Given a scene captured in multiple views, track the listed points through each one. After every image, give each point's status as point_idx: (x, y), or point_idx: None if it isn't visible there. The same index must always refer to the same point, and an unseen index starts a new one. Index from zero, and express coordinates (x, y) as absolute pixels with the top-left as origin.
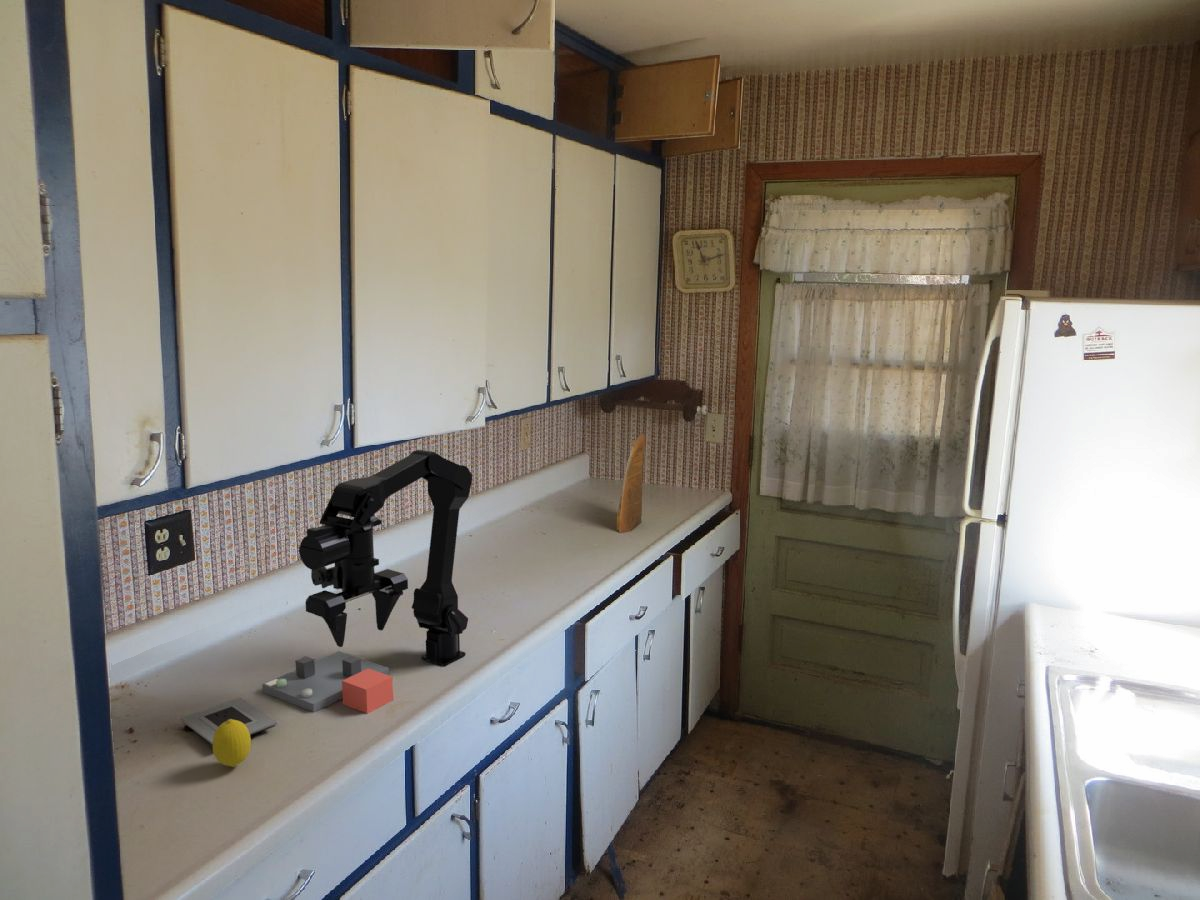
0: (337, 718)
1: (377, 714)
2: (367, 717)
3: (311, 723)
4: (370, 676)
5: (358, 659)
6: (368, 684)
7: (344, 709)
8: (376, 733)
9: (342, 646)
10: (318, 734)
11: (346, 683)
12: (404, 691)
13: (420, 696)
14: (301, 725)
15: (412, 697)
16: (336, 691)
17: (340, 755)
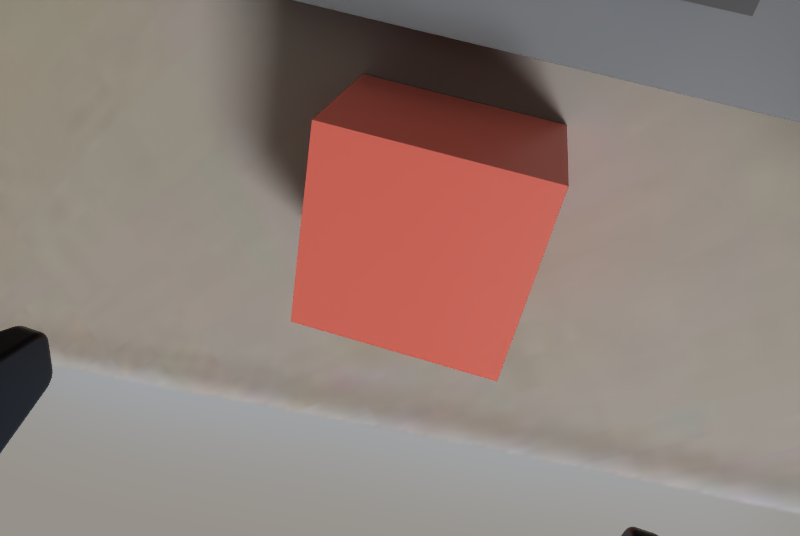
0: (231, 140)
1: None
2: None
3: (125, 44)
4: (450, 265)
5: (723, 7)
6: (350, 302)
7: None
8: (227, 352)
9: (45, 382)
10: (84, 146)
11: (309, 161)
12: (621, 304)
13: (587, 389)
14: (81, 6)
15: (565, 362)
16: (385, 1)
17: (50, 308)
